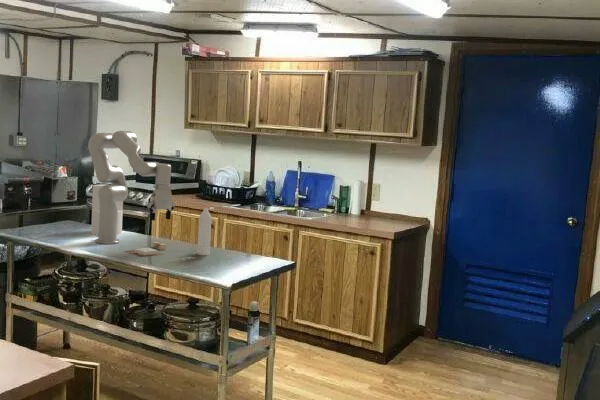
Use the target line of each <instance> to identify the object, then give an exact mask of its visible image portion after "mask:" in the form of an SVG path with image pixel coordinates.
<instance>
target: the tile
mask: <svg viewBox="0 0 600 400" xmlns="http://www.w3.org/2000/svg"><path fill="white" fill-rule="evenodd" d="M134 250H135V253H137V254H140V255H143V256H146V255H155V254H158V252H159V251H158V250H159V249H156V248H153V247H152V248H151V247H141V248H135V249H134Z"/></svg>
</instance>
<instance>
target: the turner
mask: <svg viewBox="0 0 600 400" xmlns="http://www.w3.org/2000/svg"><path fill="white" fill-rule="evenodd" d="M151 247H152V249H156V250H161V251H164V250H167V243H162V242H159V241H152V245H151Z"/></svg>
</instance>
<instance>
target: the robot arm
mask: <svg viewBox="0 0 600 400" xmlns="http://www.w3.org/2000/svg"><path fill="white" fill-rule="evenodd" d="M137 142H138V137H137V135H136V134H135V133H134V132H133V131H131V130H118V131H114V132H97V133H94V134H92V135H91V136H90V138H89V140H88V144H87V145H88V146H87V148H88V152H89V154H90V156H91V159H92V164H93V168H94V172H95V176H96V179H97V180H98V182H99V183H102V184H105V186H102V187H101V188H100V189H99V192H98V198H99V206H100V211H99V233H98V234H97V235H96V236H97V237H98V238H96V239H95V243H98V244H103V245H104V244H105V245H113V244H118V243H120V239H119V238H117V237H118V235H117V214H118V210H117V206H116V203H115V202H117V201H123V202H124V201H125V200H126V199H127V198H128V196H129V189H128V184H127V181H126V177H125V173H124V171H123V169H122V168H121V167H120V166H119V165H111V163H110V159H109V156H108V154H107V153H106V152H105V150H104V149H119V150H120V151H121V152H122V153H123V154H124V155H125V156H126V157H127V159H128V160H127V161H128V164H129V166H130V167H131V169H133V171H135V172H136V174H138V175H139V176H141V177H155V181H154V182H155V183H154V184H155V185H153V188H154V189H153V191H152V198H151V201H150V202H148V203H147V204H146V207H147V210H148V211H149V213H150V215H149V217H150V220H151V221H153V222H155V220H156V211H158V210H166V212H165V219H166V220H171V215H172V212H173V210H174V208H175V206H176V202H173V196H172V195H173V194H172V190H170V188H171V176H172V165H171V164H169V163H160V162H158V161H144V159H142V157H140V156H139V155H140V153H141V151H142V149H141V146H140V145H139V144H138V143H137ZM108 183H109V184H108Z"/></svg>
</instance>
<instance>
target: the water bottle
mask: <svg viewBox="0 0 600 400" xmlns="http://www.w3.org/2000/svg"><path fill="white" fill-rule="evenodd" d="M202 210H203V211H202V212H201V213H200V215H199V217H198V231H197V232H198V233H197V234H198V236H197V252H196V254H197V255H199V256H210V255H211V253H210V252H211V235H212V234H211V233H212V232H211V231H212V218H213V217H212V215H211V213H210V212H209V210H215V207H211V206H210V207H209V208H207V207H203V209H202Z"/></svg>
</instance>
